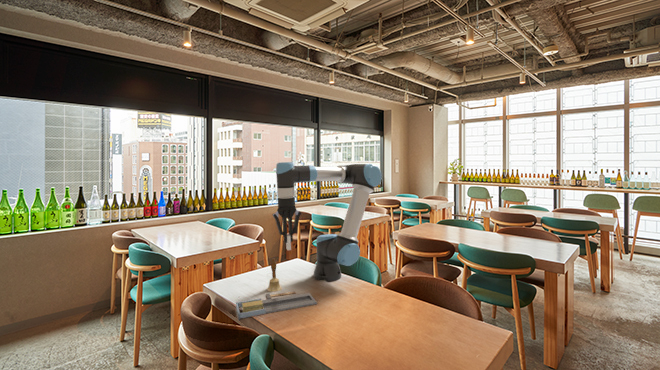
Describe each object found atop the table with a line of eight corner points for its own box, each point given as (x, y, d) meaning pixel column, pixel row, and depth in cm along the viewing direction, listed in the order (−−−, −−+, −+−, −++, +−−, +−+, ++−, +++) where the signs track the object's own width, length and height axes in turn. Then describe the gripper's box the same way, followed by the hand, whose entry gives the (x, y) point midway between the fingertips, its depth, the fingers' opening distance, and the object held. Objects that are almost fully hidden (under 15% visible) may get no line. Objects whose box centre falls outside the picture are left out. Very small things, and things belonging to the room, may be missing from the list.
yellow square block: (261, 306, 133) (261, 300, 133) (263, 310, 129) (262, 303, 129) (251, 308, 132) (251, 301, 131) (253, 312, 128) (253, 305, 128)
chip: (251, 308, 132) (251, 301, 131) (253, 312, 128) (253, 305, 128) (242, 310, 130) (242, 303, 130) (243, 314, 126) (243, 307, 126)
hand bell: (274, 295, 146) (273, 262, 145) (262, 291, 151) (261, 259, 150) (286, 289, 153) (286, 258, 152) (274, 286, 158) (274, 255, 156)
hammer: (294, 293, 149) (294, 290, 149) (296, 297, 144) (296, 294, 144) (266, 297, 144) (265, 294, 144) (267, 301, 140) (267, 298, 140)
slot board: (309, 296, 145) (309, 292, 145) (317, 306, 135) (317, 302, 134) (261, 304, 137) (261, 300, 136) (266, 315, 126) (266, 311, 126)
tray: (261, 304, 136) (260, 298, 136) (265, 315, 126) (265, 309, 126) (235, 309, 132) (235, 302, 132) (238, 320, 122) (238, 314, 122)
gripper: (297, 195, 143) (300, 245, 145) (269, 197, 138) (272, 249, 140) (302, 196, 136) (305, 249, 138) (273, 199, 131) (276, 253, 134)
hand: (288, 249), depth 139 cm, fingers closed
